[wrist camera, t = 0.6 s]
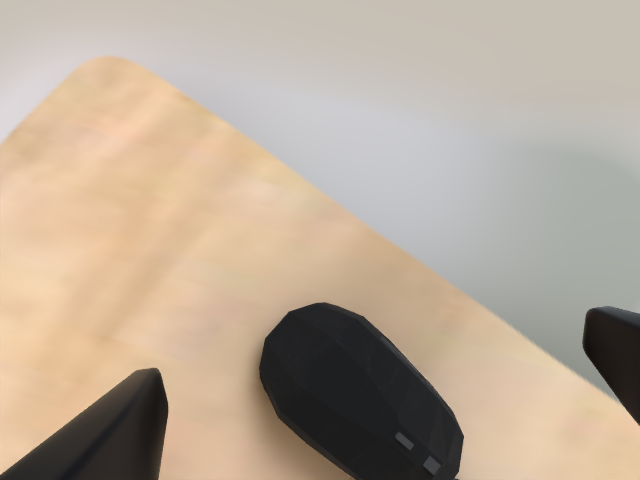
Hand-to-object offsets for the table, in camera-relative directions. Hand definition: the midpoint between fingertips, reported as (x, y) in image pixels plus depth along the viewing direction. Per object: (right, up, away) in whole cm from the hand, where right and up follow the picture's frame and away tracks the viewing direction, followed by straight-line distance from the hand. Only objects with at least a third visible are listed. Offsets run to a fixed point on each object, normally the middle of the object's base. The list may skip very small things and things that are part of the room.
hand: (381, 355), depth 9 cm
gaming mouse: (+2, -7, +14) cm, 16 cm away
